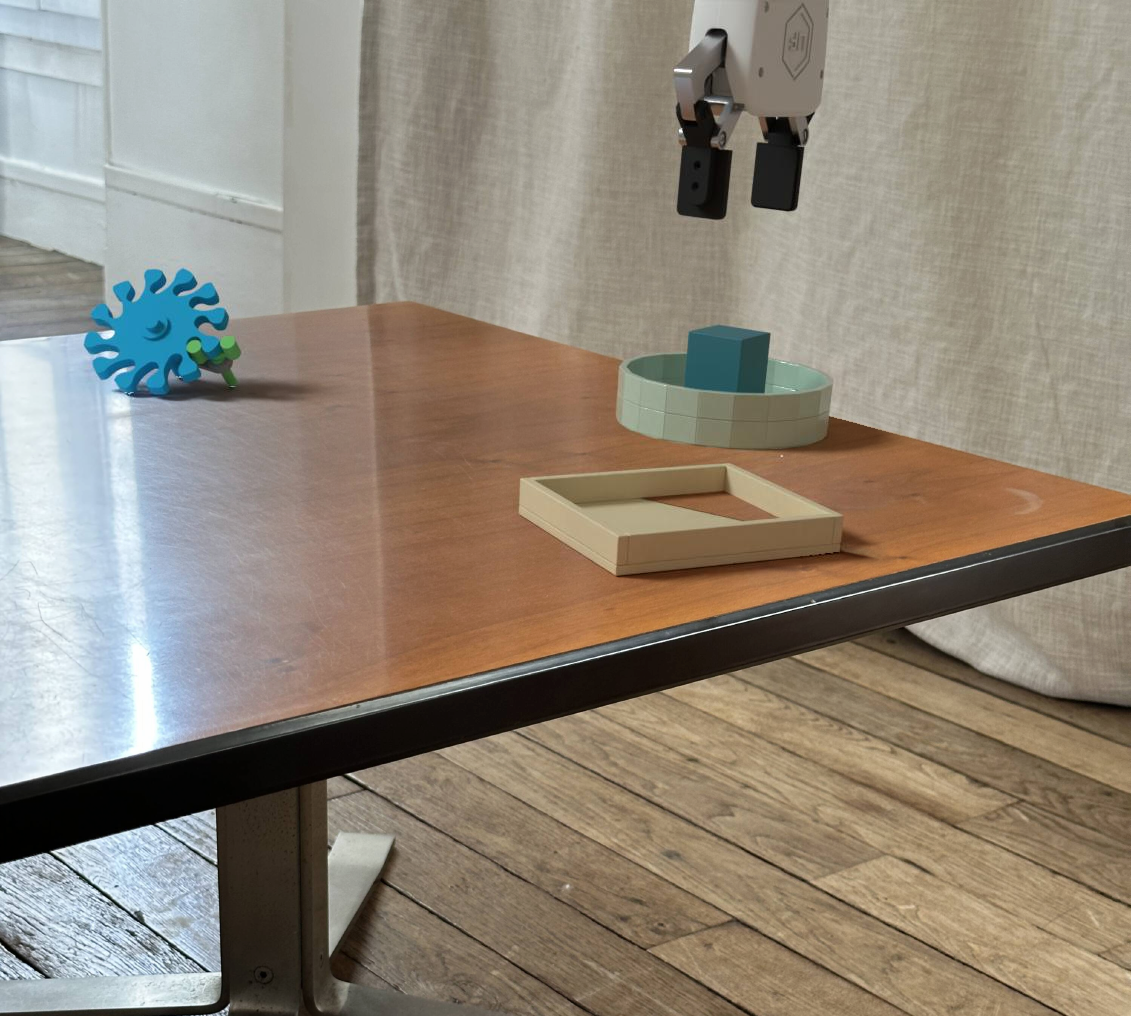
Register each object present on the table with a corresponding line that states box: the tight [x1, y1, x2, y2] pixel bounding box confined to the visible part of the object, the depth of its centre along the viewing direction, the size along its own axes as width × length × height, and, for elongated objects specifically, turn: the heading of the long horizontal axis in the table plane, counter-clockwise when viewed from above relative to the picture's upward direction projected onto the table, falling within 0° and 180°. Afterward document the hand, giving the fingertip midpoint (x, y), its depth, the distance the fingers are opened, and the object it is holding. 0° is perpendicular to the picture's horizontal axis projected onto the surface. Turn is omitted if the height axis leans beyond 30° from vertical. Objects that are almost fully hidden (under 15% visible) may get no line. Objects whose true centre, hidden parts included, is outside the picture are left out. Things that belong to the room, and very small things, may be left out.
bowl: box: [615, 351, 834, 450], centre depth 106 cm, size 14×14×4 cm
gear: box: [83, 267, 242, 396], centre depth 111 cm, size 11×6×10 cm
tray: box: [518, 462, 845, 577], centre depth 84 cm, size 13×11×2 cm
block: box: [684, 324, 772, 393], centre depth 106 cm, size 4×4×6 cm
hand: (738, 212), depth 102 cm, fingers open, 9 cm apart
